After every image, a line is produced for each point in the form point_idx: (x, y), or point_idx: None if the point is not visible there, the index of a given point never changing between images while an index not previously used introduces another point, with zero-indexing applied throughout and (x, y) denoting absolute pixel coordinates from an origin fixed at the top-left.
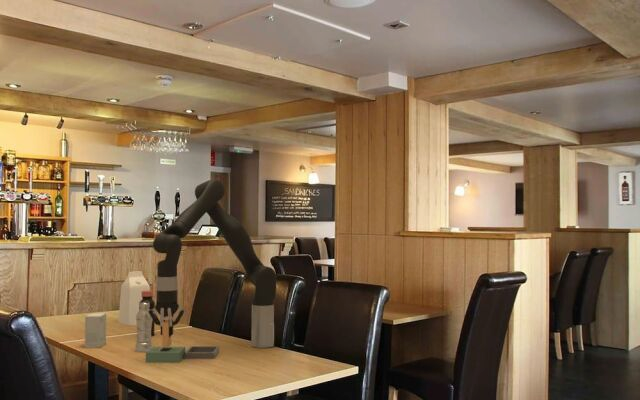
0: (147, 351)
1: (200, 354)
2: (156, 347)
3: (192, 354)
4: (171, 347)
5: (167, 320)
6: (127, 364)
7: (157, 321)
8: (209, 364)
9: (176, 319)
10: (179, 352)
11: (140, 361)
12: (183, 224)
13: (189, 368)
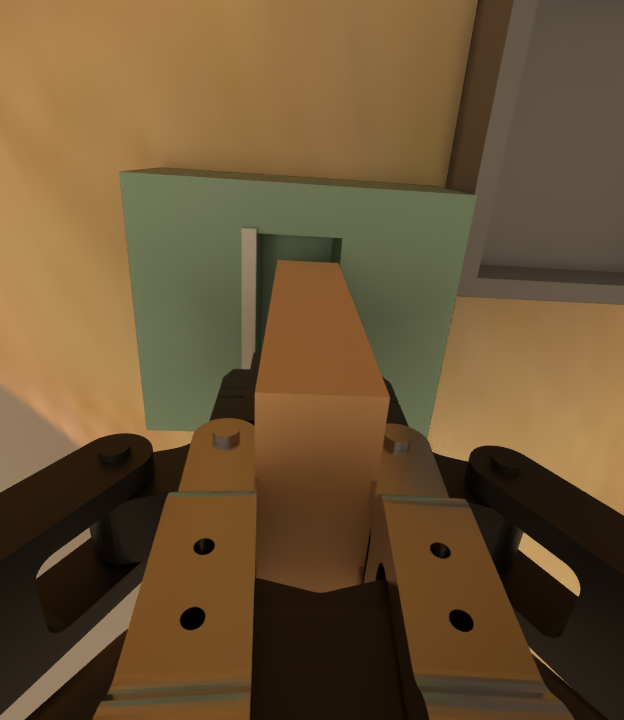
0: (146, 396)
1: (584, 299)
2: (174, 223)
3: (518, 295)
4: (334, 230)
5: (308, 464)
6: (13, 309)
7: (131, 587)
8: (603, 331)
9: (523, 626)
10: (426, 437)
11: (71, 211)
12: None
13: (465, 425)
